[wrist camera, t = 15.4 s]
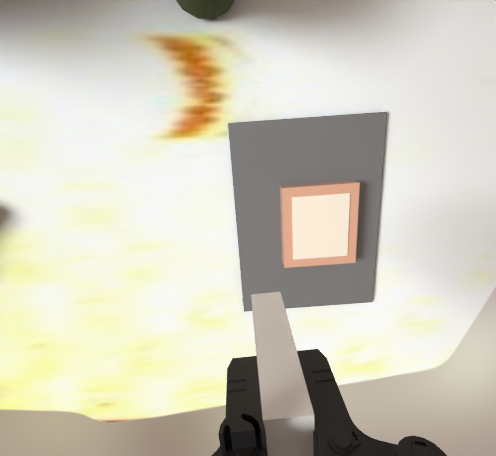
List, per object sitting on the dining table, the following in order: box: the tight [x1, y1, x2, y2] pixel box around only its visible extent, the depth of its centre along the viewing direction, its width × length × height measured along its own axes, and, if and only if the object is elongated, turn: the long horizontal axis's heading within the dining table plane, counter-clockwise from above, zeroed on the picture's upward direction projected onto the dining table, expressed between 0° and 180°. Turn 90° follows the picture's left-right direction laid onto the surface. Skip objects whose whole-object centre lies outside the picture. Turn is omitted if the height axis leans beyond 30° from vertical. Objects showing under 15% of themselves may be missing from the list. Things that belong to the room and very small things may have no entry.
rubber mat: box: [228, 112, 387, 311], centre depth 32 cm, size 22×16×1 cm
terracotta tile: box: [280, 180, 360, 268], centre depth 31 cm, size 9×2×8 cm
